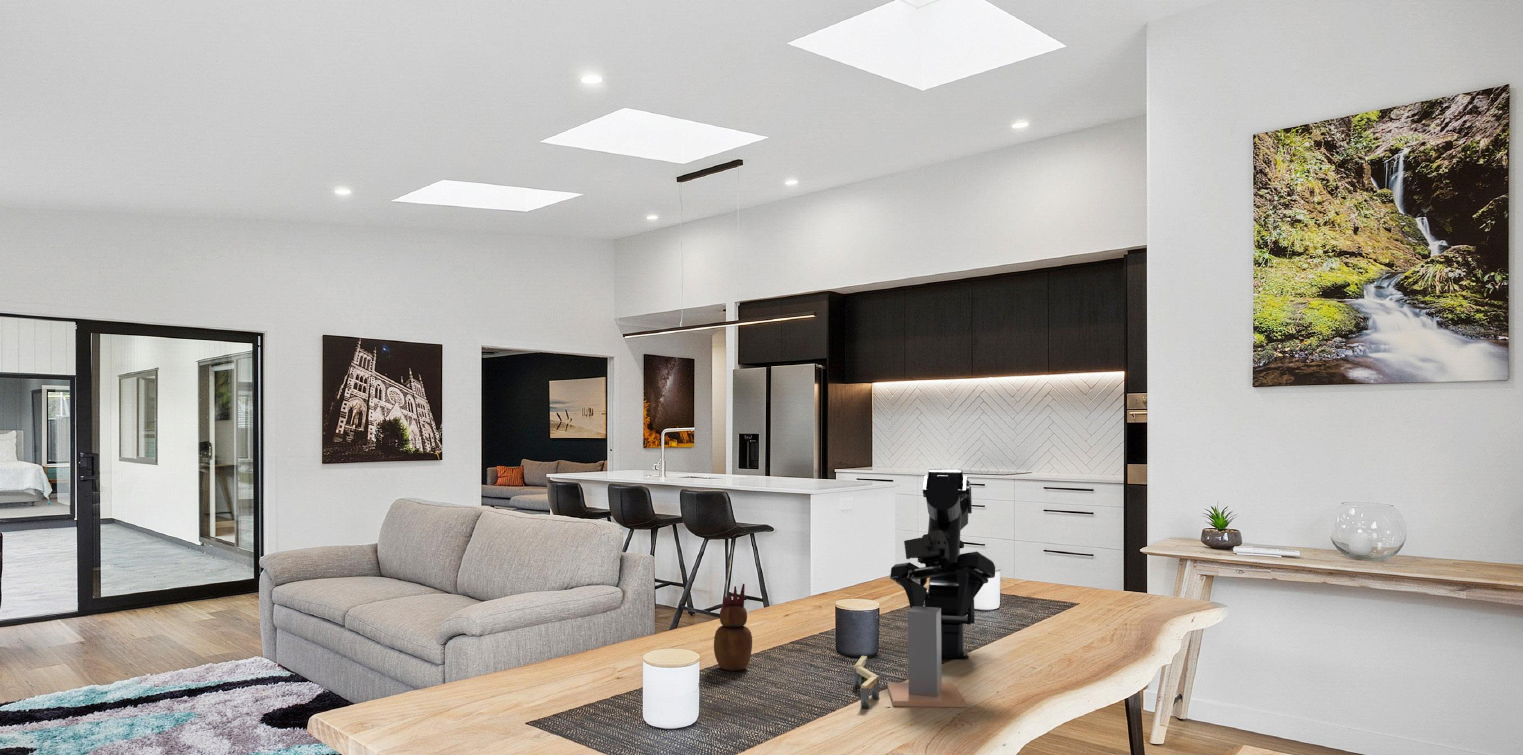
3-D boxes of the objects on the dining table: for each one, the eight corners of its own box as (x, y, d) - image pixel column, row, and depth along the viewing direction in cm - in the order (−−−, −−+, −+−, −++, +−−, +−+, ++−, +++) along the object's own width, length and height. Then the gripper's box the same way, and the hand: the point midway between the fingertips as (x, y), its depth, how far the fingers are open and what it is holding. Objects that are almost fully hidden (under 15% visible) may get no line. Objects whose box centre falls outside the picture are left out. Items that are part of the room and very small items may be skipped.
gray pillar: (908, 694, 142) (907, 611, 143) (913, 686, 146) (913, 606, 147) (937, 697, 141) (936, 613, 141) (941, 689, 145) (940, 607, 145)
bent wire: (851, 675, 156) (851, 655, 156) (873, 676, 155) (873, 655, 156) (857, 708, 137) (857, 685, 138) (882, 709, 137) (881, 686, 137)
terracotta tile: (887, 687, 149) (887, 682, 149) (954, 688, 148) (954, 683, 148) (893, 706, 139) (893, 700, 139) (965, 707, 138) (965, 701, 138)
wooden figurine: (756, 666, 162) (756, 582, 162) (745, 674, 156) (745, 587, 157) (721, 663, 164) (721, 580, 165) (709, 671, 158) (709, 585, 159)
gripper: (875, 524, 163) (865, 608, 155) (961, 507, 151) (955, 597, 143) (913, 547, 169) (905, 628, 161) (998, 532, 157) (995, 619, 149)
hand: (937, 618), depth 153 cm, fingers open, 9 cm apart
